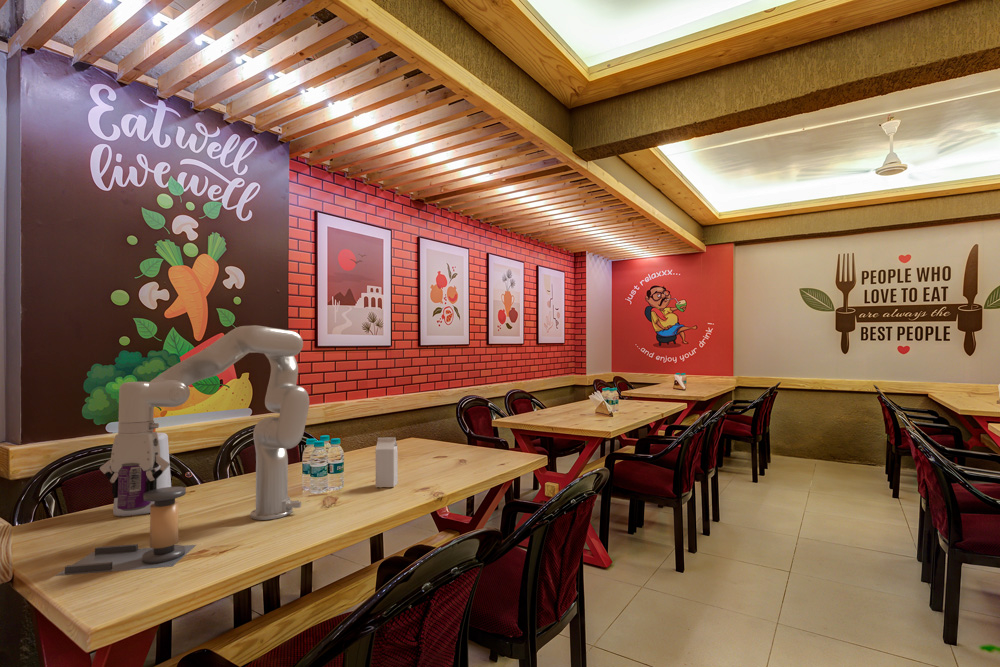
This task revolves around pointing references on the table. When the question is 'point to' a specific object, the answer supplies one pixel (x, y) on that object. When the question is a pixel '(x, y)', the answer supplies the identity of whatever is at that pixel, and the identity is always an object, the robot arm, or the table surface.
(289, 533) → the table surface
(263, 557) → the table surface
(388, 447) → the milk carton
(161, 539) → the bobbin
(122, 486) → the beverage can
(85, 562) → the board
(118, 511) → the plastic bottle
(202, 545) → the table surface
